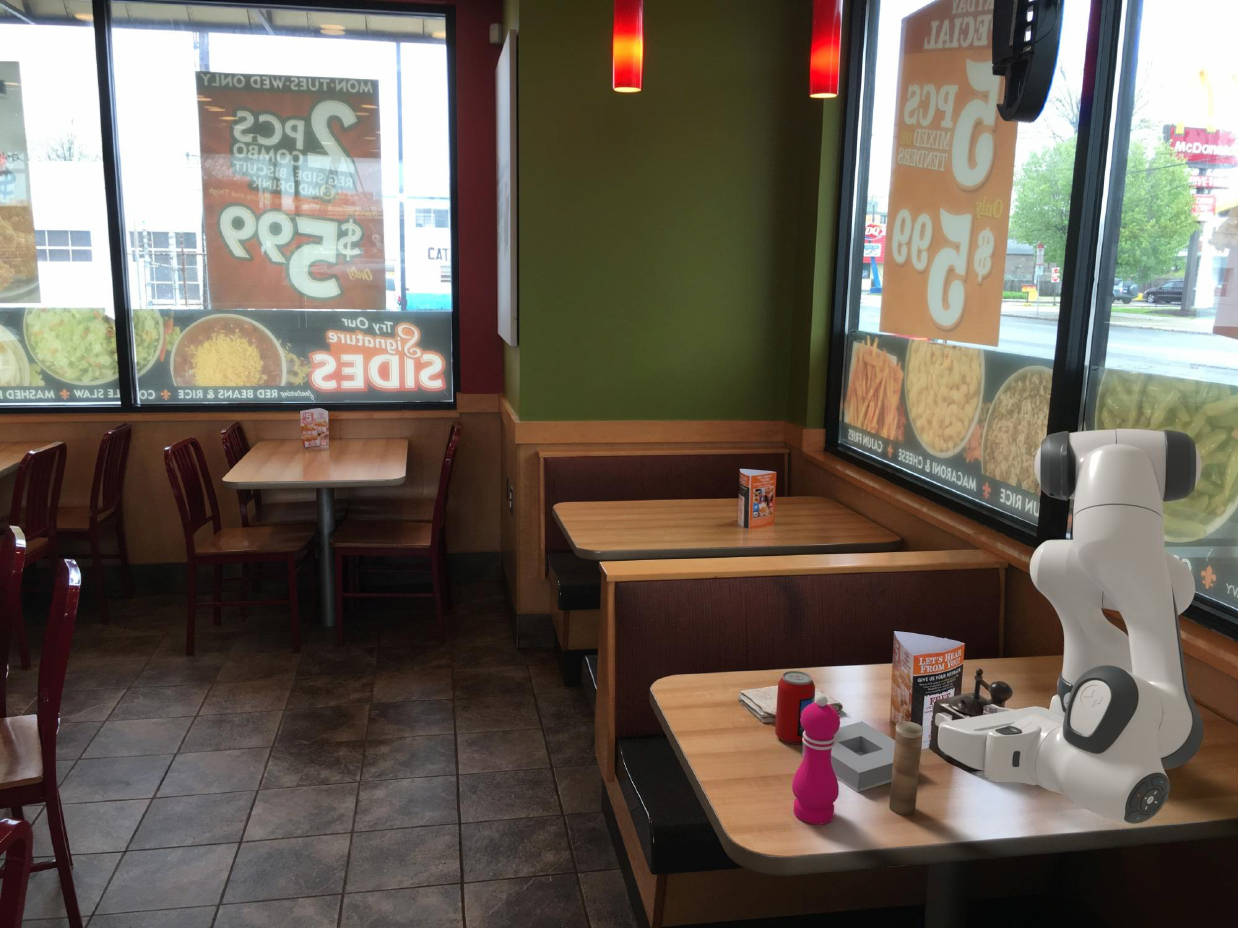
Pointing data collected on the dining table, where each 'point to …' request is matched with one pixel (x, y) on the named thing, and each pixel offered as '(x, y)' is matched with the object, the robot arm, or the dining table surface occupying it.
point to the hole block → (862, 756)
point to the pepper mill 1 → (817, 764)
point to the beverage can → (793, 705)
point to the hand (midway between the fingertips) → (963, 713)
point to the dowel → (905, 768)
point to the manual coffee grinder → (968, 709)
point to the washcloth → (772, 702)
